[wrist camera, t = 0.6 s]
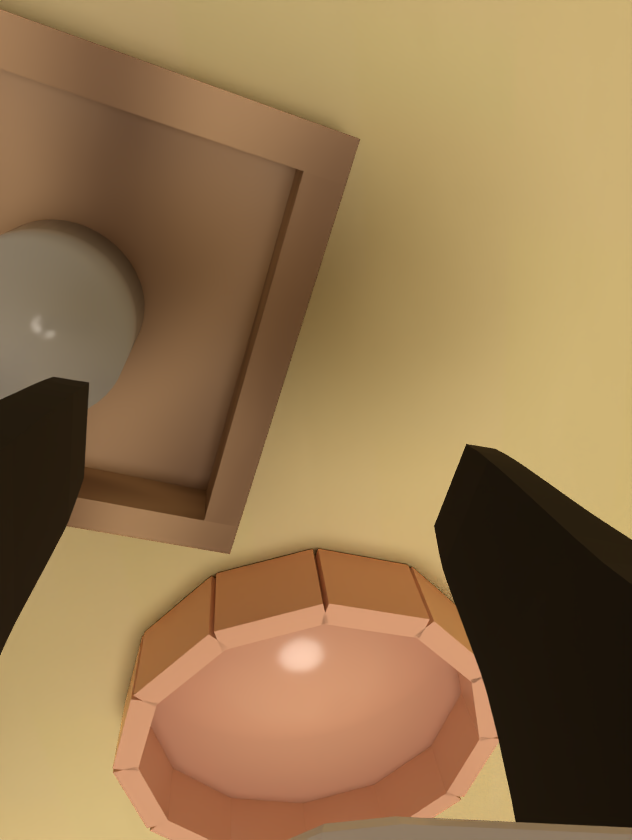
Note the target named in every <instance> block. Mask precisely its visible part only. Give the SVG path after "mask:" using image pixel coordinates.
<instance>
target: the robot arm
mask: <svg viewBox="0 0 632 840" xmlns="http://www.w3.org/2000/svg"><path fill="white" fill-rule="evenodd" d="M88 397H89V382H83V381H77V380H71V379H65V378H59V377H51V378H48V379H45V380H43V381H40V382H38V383H35V384H33V385H31V386H29V387H27V388H24V389H22V390H20V391H18V392H16V393H14V394H11V395H9V396H7V397H5V398H3V399H0V655H1V652H2V650H3V647H4V645H5V643H6V641H7V639H8V637H9V635H10V633H11V631H12V628H13V626H14V624H15V622H16V620H17V619H18V617H19V615H20V613H21V611H22V609H23V607H24V605H25V604H26V602H27V600H28V598H29V596H30V594H31V592H32V590H33V588H34V587H35V585H36V583H37V581H38V579H39V577H40V575H41V573H42V572H43V570H44V568H45V566H46V564H47V562H48V560H49V558H50V557H51V555H52V553H53V551H54V549H55V547H56V545H57V543H58V541H59V539H60V537H61V536H62V534H63V532H64V530H65V528H66V526H67V524H68V522H69V519H70V516H71V513H72V511H73V508H74V505H75V503H76V500H77V497H78V494H79V491H80V488H81V485H82V482H83V479H84V469H85V451H86V433H87V415H88ZM434 527H435V533H436V538H437V544H438V549H439V554H440V559H441V563H442V568H443V571H444V574H445V577H446V580H447V583H448V586H449V588H450V591H451V594H452V597H453V600H454V602H455V605H456V608H457V610H458V613H459V616H460V619H461V621H462V624H463V627H464V629H465V632H466V635H467V637H468V640H469V643H470V646H471V648H472V651H473V654H474V656H475V659H476V662H477V664H478V667H479V670H480V673H481V676H482V679H483V683H484V686H485V689H486V692H487V696H488V700H489V704H490V708H491V712H492V716H493V720H494V724H495V728H496V732H497V736H498V740H499V744H500V749H501V753H502V758H503V762H504V767H505V772H506V776H507V781H508V785H509V790H510V794H511V799H512V804H513V810H514V815H515V821H516V822H502V821H481V820H461V819H440V818H419V817H398V816H394V817H384V818H374V819H365V820H355V821H346V822H336V823H326V824H323V825H320V826H318V827H316V828H313V829H311V830H309V831H307V832H304V833H302V834H300V835H297V836H295V837H293V838H290V839H288V840H632V540H631V539H630V538H628V537H627V536H625V535H624V534H622V533H620V532H619V531H617V530H616V529H614V528H613V527H611V526H610V525H608V524H607V523H605V522H603V521H602V520H600V519H599V518H597V517H596V516H595V515H593V514H592V513H590V512H589V511H587V510H586V509H584V508H583V507H581V506H580V505H578V504H577V503H576V502H574V501H573V500H571V499H570V498H569V497H567V496H566V495H564V494H563V493H561V492H560V491H559V490H557V489H556V488H554V487H553V486H552V485H550V484H549V483H547V482H546V481H545V480H543V479H542V478H540V477H539V476H538V475H536V474H535V473H533V472H532V471H530V470H529V469H528V468H526V467H525V466H523V465H522V464H520V463H519V462H517V461H516V460H514V459H512V458H511V457H509V456H507V455H506V454H504V453H502V452H500V451H498V450H496V449H493V448H487V447H481V446H475V445H468V444H466V446H465V449H464V451H463V454H462V457H461V459H460V462H459V464H458V467H457V469H456V472H455V474H454V477H453V479H452V482H451V485H450V487H449V490H448V492H447V495H446V497H445V500H444V502H443V505H442V507H441V510H440V513H439V515H438V518H437V520H436V523H435V525H434Z"/></svg>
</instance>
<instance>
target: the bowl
mask: <svg viewBox="0 0 632 840" xmlns="http://www.w3.org/2000/svg"><path fill="white" fill-rule="evenodd" d="M498 742H499V740H498V736H497V732H496V728H495V724H494V720H493V716H492V712H491V708H490V704H489V700H488V696H487V692H486V689H485V686H484V683H483V679H482V676H481V673H480V670H479V667H478V664H477V662H476V659H475V656H474V654H473V651H472V648H471V646H470V643H469V640H468V637H467V635H466V632H465V629H464V627H463V624H462V621H461V619H460V616H459V613H458V610H457V608H456V605H455V604H454V603H453V602H452V601H450V600H449V599H448V598H447V597H446V596H445V595H444V594H443V593H441V592H440V591H439V590H438V589H437V588H436V587H435V586H433V585H432V584H431V583H430V582H429V581H428V580H427V579H425V578H424V577H423V576H422V575H421V574H420V573H419V572H417V571H416V570H415V569H414V568H413V567H411V568H410V569H409V566H408V565H406V564H401V563H395V562H389V561H384V560H378V559H373V558H367V557H362V556H356V555H351V554H345V553H339V552H334V551H328V550H323V549H318V550H317V553H316V555H315V556H314V552H313V549H310V550H306V551H302V552H298V553H294V554H290V555H287V556H283V557H279V558H275V559H271V560H267V561H263V562H259V563H255V564H251V565H247V566H243V567H239V568H236V569H232V570H228V571H224V572H220V573H216V579H215V578H214V577H212V576H211V577H209V578H208V579H207V580H206V581H205V582H204V583H202V584H201V585H200V586H199V587H198V588H196V589H195V590H194V591H193V592H192V593H191V594H189V595H188V596H187V597H186V598H185V599H183V600H182V601H181V602H180V603H179V604H178V605H176V606H175V607H174V608H173V609H172V610H170V611H169V612H168V613H167V614H166V615H164V616H163V617H162V618H161V619H160V620H159V621H157V622H156V623H155V624H154V625H153V626H151V627H150V628H149V629H148V630H147V631H146V632H145V634H144V636H142V639H141V643H140V647H139V651H138V654H137V658H136V662H135V666H134V670H133V674H132V678H131V681H130V685H129V689H128V693H127V697H126V701H125V706H124V711H123V716H122V722H121V727H120V732H119V737H118V743H117V748H116V753H115V759H114V764H113V769H114V771H113V773H114V775H115V776H116V778H117V780H118V781H119V783H120V785H121V786H122V788H123V790H124V791H125V793H126V794H127V796H128V798H129V799H130V801H131V803H132V804H133V806H134V808H135V809H136V811H137V812H138V814H139V816H140V817H141V819H142V821H143V822H144V824H145V826H146V827H147V828H149V827H150V831H152V832H154V833H157V834H159V835H161V836H163V837H165V838H168V839H170V840H288V839H290V838H293V837H295V836H297V835H300V834H302V833H304V832H307V831H309V830H311V829H313V828H316V827H318V826H320V825H323V824H326V823H336V822H346V821H355V820H365V819H374V818H384V817H394V816H398V817H419V818H433V817H435V816H436V815H438V814H440V813H441V812H443V811H444V810H446V809H447V808H449V807H450V806H452V805H453V804H455V803H457V802H458V801H460V800H461V798H460V796H461V797H464V796H465V794H466V793H467V791H468V790H469V788H470V787H471V785H472V783H473V782H474V780H475V779H476V777H477V775H478V774H479V772H480V771H481V769H482V768H483V766H484V764H485V763H486V761H487V760H488V758H489V757H490V755H491V753H492V752H493V750H494V749H495V747H496V745H497V744H498Z"/></svg>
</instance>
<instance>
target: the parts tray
mask: <svg viewBox="0 0 632 840" xmlns="http://www.w3.org/2000/svg"><path fill="white" fill-rule="evenodd" d="M359 141H360V139H358V138H355V137H353V136H350V135H347V134H344V133H342V132H339V131H336V130H333V129H331V128H328V127H325V126H322V125H319V124H317V123H314V122H311V121H308V120H306V119H303V118H300V117H297V116H295V115H292V114H289V113H286V112H283V111H281V110H278V109H275V108H272V107H270V106H267V105H264V104H261V103H259V102H256V101H253V100H250V99H248V98H245V97H242V96H239V95H236V94H234V93H231V92H228V91H225V90H223V89H220V88H217V87H214V86H212V85H209V84H206V83H203V82H200V81H198V80H195V79H192V78H189V77H187V76H184V75H181V74H178V73H176V72H173V71H170V70H167V69H164V68H162V67H159V66H156V65H153V64H151V63H148V62H145V61H142V60H140V59H137V58H134V57H131V56H129V55H126V54H123V53H120V52H117V51H115V50H112V49H109V48H106V47H104V46H101V45H98V44H95V43H93V42H90V41H87V40H84V39H81V38H79V37H76V36H73V35H70V34H68V33H65V32H62V31H59V30H57V29H54V28H51V27H48V26H45V25H43V24H40V23H37V22H34V21H32V20H29V19H26V18H23V17H21V16H18V15H15V14H12V13H10V12H7V11H4V10H1V9H0V235H1V234H3V233H5V232H7V231H10V230H12V229H14V228H16V227H18V226H20V225H23V224H26V223H29V222H33V221H38V220H52V219H54V220H65V221H69V222H74V223H78V224H80V225H83V226H86V227H88V228H90V229H92V230H94V231H96V232H98V233H100V234H101V235H103V236H104V237H106V238H107V239H109V240H110V241H111V242H112V243H113V244H115V245H116V246H117V247H118V248H119V249H120V250H121V251H122V252H123V253H124V255H125V256H126V257H127V259H128V260H129V261H130V263H131V264H132V266H133V268H134V269H135V271H136V273H137V276H138V278H139V280H140V283H141V286H142V290H143V295H144V319H143V323H142V327H141V330H140V332H139V335H138V337H137V339H136V341H135V343H134V346H133V348H132V350H131V352H130V354H129V356H128V359H127V361H126V363H125V365H124V367H123V369H122V372H121V374H120V376H119V378H118V380H117V381H116V383H115V385H114V386H113V388H112V389H111V390H110V391H109V392H108V393H107V394H106V396H104V397H103V398H102V399H101V400H100V401H99V402H97V403H96V404H94V405H93V406H91V407H90V408H88V415H87V433H86V451H85V469H84V479H83V482H82V485H81V488H80V491H79V494H78V497H77V500H76V503H75V505H74V508H73V511H72V513H71V516H70V519H69V522H68V524H67V526H69V527H75V528H81V529H87V530H93V531H99V532H104V533H110V534H116V535H122V536H128V537H134V538H139V539H145V540H151V541H157V542H163V543H169V544H174V545H180V546H186V547H192V548H198V549H204V550H209V551H215V552H221V553H227V554H230V552H231V549H232V545H233V542H234V539H235V536H236V533H237V530H238V526H239V523H240V520H241V517H242V514H243V510H244V507H245V504H246V501H247V498H248V494H249V491H250V488H251V485H252V482H253V479H254V475H255V472H256V469H257V466H258V463H259V459H260V456H261V453H262V450H263V447H264V444H265V440H266V437H267V434H268V431H269V428H270V424H271V421H272V418H273V415H274V412H275V408H276V405H277V402H278V399H279V396H280V393H281V389H282V386H283V383H284V380H285V377H286V373H287V370H288V367H289V364H290V361H291V358H292V354H293V351H294V348H295V345H296V342H297V338H298V335H299V332H300V329H301V326H302V322H303V319H304V316H305V313H306V310H307V307H308V303H309V300H310V297H311V294H312V291H313V287H314V284H315V281H316V278H317V275H318V272H319V268H320V265H321V262H322V259H323V256H324V252H325V249H326V246H327V243H328V240H329V236H330V233H331V230H332V227H333V224H334V221H335V217H336V214H337V211H338V208H339V205H340V201H341V198H342V195H343V192H344V189H345V186H346V182H347V179H348V176H349V173H350V170H351V166H352V163H353V160H354V157H355V154H356V150H357V147H358V144H359Z"/></svg>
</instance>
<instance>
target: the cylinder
mask: <svg viewBox="0 0 632 840" xmlns="http://www.w3.org/2000/svg"><path fill="white" fill-rule="evenodd" d="M143 319H144V295H143V290H142V286H141V283H140V280H139V278H138V276H137V273H136V271H135V269H134V268H133V266H132V264H131V263H130V261H129V260H128V259H127V257H126V256H125V255H124V253H123V252H122V251H121V250H120V249H119V248H118V247H117V246H116V245H115V244H113V243H112V242H111V241H110V240H109V239H107V238H106V237H104V236H103V235H101V234H100V233H98V232H96V231H94V230H92V229H90V228H88V227H86V226H83V225H80V224H78V223H74V222H69V221H65V220H54V219H52V220H38V221H33V222H29V223H26V224H23V225H20V226H18V227H16V228H14V229H12V230H10V231H7V232H5V233H3V234H1V235H0V399H3V398H5V397H7V396H9V395H11V394H14V393H16V392H18V391H20V390H22V389H24V388H27V387H29V386H31V385H33V384H35V383H38V382H40V381H43V380H45V379H48V378H51V377H59V378H65V379H71V380H77V381H83V382H89V397H88V408H90V407H91V406H93V405H94V404H96V403H97V402H99V401H100V400H101V399H102V398H103V397H104V396H106V394H107V393H108V392H109V391H110V390H111V389H112V388H113V386H114V385H115V383H116V381H117V380H118V378H119V376H120V374H121V372H122V369H123V367H124V365H125V363H126V361H127V359H128V356H129V354H130V352H131V350H132V348H133V346H134V343H135V341H136V339H137V337H138V335H139V332H140V330H141V327H142V323H143Z"/></svg>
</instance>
